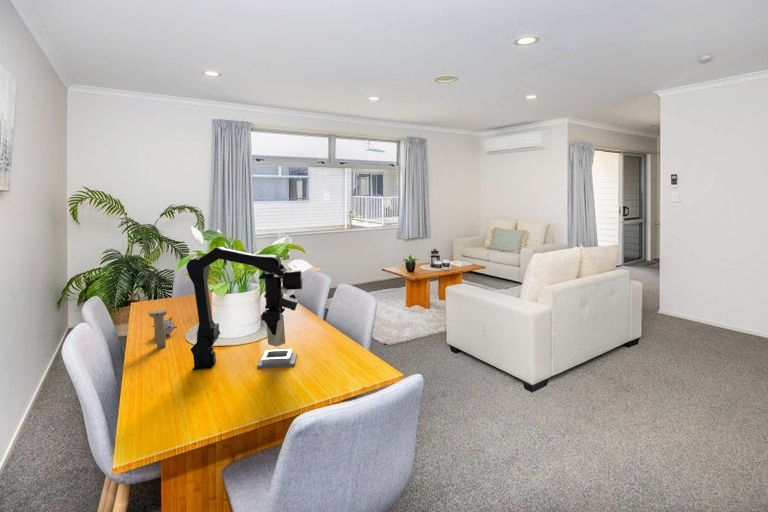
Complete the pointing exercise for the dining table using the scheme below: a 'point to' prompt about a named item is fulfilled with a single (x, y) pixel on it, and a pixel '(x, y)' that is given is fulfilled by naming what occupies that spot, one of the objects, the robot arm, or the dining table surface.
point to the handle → (159, 327)
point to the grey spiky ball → (168, 326)
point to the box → (277, 334)
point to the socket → (277, 358)
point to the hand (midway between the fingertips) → (275, 332)
